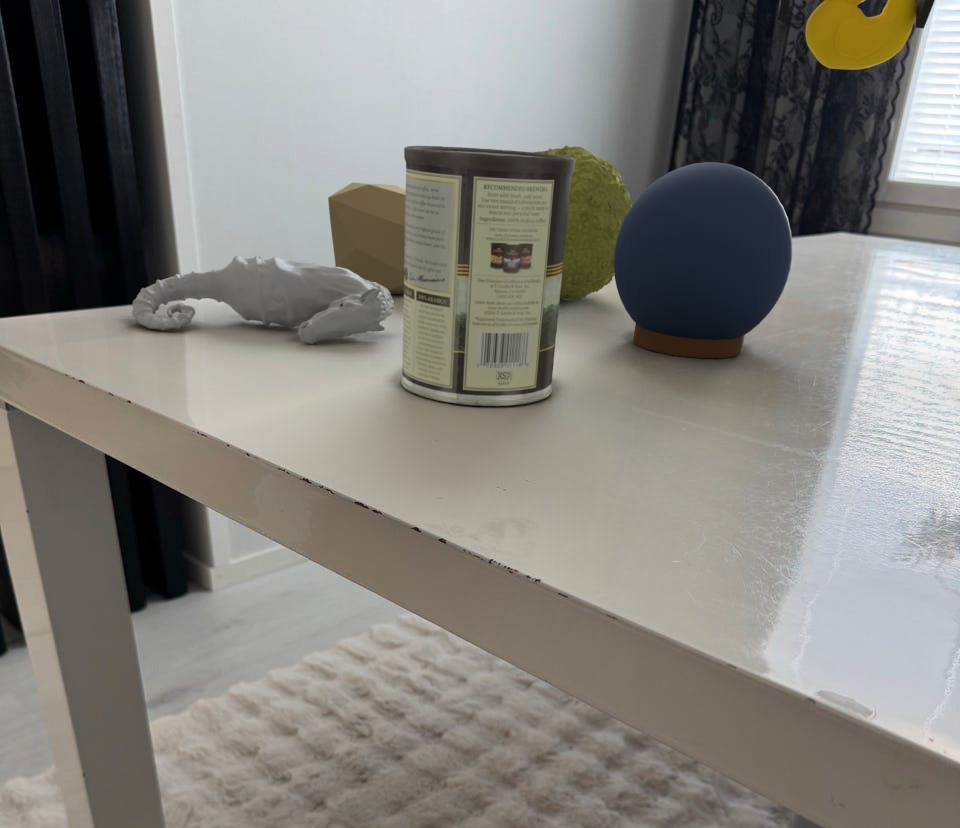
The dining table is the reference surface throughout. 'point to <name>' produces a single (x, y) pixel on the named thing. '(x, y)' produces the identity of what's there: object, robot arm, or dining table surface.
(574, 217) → the fruit
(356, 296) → the seahorse
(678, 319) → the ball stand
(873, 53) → the duckling
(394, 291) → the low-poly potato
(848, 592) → the dining table surface
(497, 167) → the coffee can
